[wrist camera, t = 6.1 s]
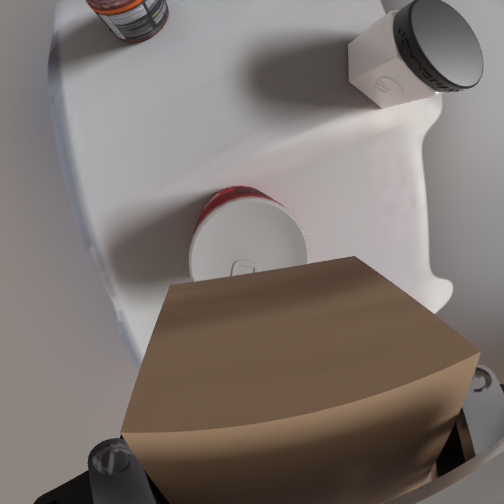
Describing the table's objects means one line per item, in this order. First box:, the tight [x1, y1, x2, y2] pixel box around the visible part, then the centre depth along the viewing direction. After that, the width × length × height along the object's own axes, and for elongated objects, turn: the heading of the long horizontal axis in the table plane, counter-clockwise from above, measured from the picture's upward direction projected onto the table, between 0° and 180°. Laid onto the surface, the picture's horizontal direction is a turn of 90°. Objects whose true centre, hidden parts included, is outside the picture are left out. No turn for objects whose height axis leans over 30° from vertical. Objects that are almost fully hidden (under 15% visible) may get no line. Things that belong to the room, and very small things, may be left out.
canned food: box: [188, 186, 309, 282], centre depth 24 cm, size 8×8×11 cm
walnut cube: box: [121, 256, 481, 504], centre depth 7 cm, size 6×6×6 cm
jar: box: [348, 0, 483, 109], centre depth 20 cm, size 9×8×12 cm
